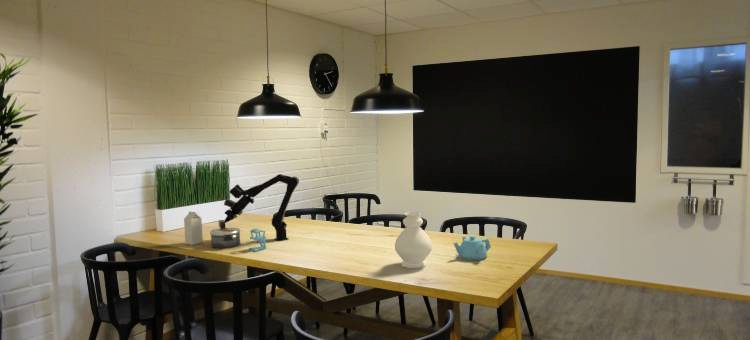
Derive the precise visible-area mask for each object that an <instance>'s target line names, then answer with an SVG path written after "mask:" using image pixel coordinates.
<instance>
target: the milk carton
mask: <svg viewBox="0 0 750 340" xmlns="http://www.w3.org/2000/svg"><path fill="white" fill-rule="evenodd" d="M202 223H203V222H202V217H201V216H199V214H198V213H197V212H196V211H188V213H187V215H186V216H185V217H184V220H183V224H184V239H185V244H186V245H189V246H194V245H199V244H203V243H204V241H203V224H202Z"/></svg>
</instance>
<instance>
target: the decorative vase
mask: <svg viewBox="0 0 750 340" xmlns="http://www.w3.org/2000/svg"><path fill="white" fill-rule="evenodd" d="M421 215H422V213H421V212H418V211H408V212H405V213H404V216H406V217H404V218H403V220H402V224H403V225H404V226H405V228H404V229H403V230H402V231H401V232H400V233H399V235H398V236H397V238H396V239H395V243H394V250H395V252H396V253H397V255H398V256H399V258H401V260H402V261H401V262H400V267H403V268H408V269H420V268H424V267H426V266H428V263H427V261H425V260H426V259H427V258H428V256H429V255H430V253H431V252H432V250H433V243H432V239H431V238H430V237H429V235H428V234H427V233H426V232H425V231H424V229H423V228H422V227H421V226H422V225H423V223H424V221H423V219H422V218H421Z"/></svg>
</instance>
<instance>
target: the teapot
mask: <svg viewBox="0 0 750 340" xmlns="http://www.w3.org/2000/svg"><path fill="white" fill-rule="evenodd" d="M453 245H454V248H455V250H456V253H457V254H458V256H459V257H460V258H461V259H462V260H466V261H481V260H483V259H485V258H486V257H487V256H488V255H487V252H488V251H490V249H491V244H490V240H489V238H488V237H485V238H482V239H481V238H478V237H476V236H475V235H469V237H467V236H462V242H461V243H460V245H459V244H458V242H454V243H453Z"/></svg>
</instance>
